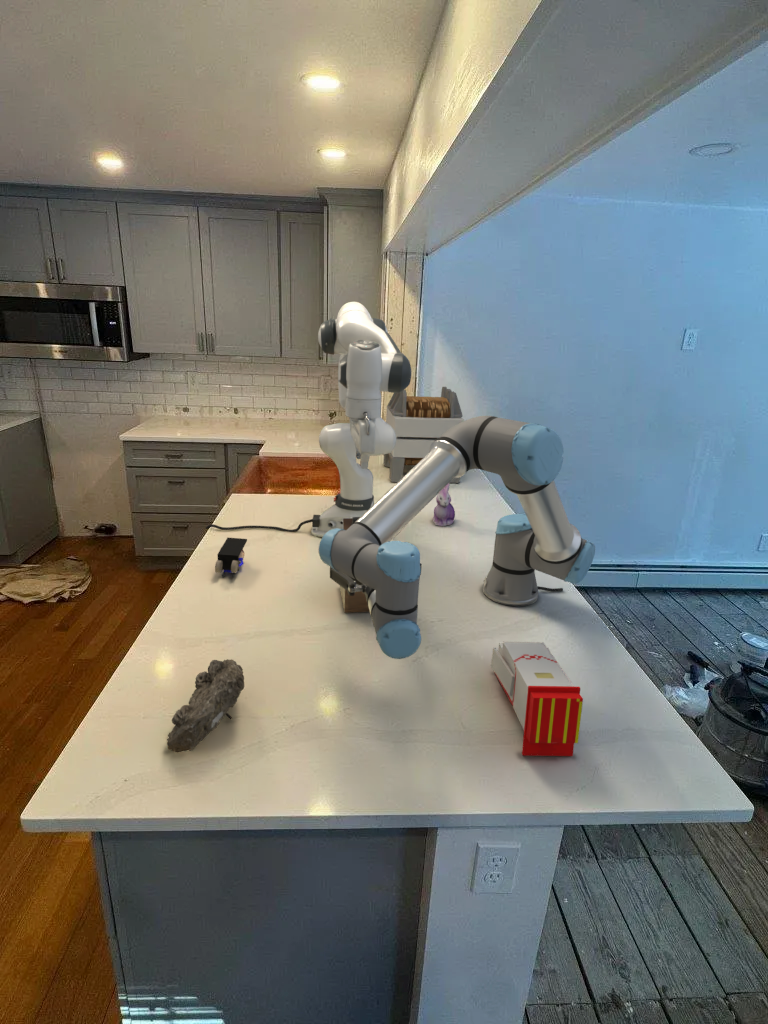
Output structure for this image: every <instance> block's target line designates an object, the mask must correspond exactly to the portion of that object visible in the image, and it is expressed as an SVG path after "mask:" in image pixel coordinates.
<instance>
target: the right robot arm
mask: <svg viewBox="0 0 768 1024" xmlns="http://www.w3.org/2000/svg"><path fill="white" fill-rule="evenodd" d="M563 454H564V444H563V441H562V438H561V436H560V434H558V432H557V431H556V430H554V429H553V428H551V427H548V426H544V425H542V424H540V423H536V422H535V423H534V422H528V421H527V422H526V421H521V420H515V419H509V418H504V417H498V416H495V415H479V416H475V417H471V418H468V419H466V420H465V421H463V422H461V423H459V424H457V425H456V426H454V427H452V428H450V429H449V430H448V431H446V432H445V433H443V434H442V435H441V436H440V437H439V438H437V439H436V440H435V441H434V442H433V443H432V444H431V446H430V452H429V453H428V454H427V455H426V456H425V457H424V458H423V459H422V460H421V461H420V462H419V463H418V464H416V465H415V466H413V467H412V468H411V469H410V470H408V472H407V473H406V474H405V475H403V476H402V479H400V480H399V481H398V482H395V484H394V485H392V487H391V488H389V489H388V490H387V491H386V492H385V493H384V494H383V495H382V496H381V497H379V499H378V500H377V501H376V502H374V505H373V506H372V507H371V508H369V509H368V510H367V511H366V512H365V513H364V514H363V515H362V516H361V517H360V518H359V519H358V520H357V521H356V522H355V523H354V524H352V525H351V526H350V527H349V528H348V529H347V530H344V529H339V528H335V529H332V530H329V531H328V532H327V533H326V534H325V535H324V536H323V537H321V539H320V542H319V544H318V555H319V558H320V560H321V561H322V562H323V564H325V565H327V566H328V567H329V579H330V580H332V581H333V582H335V584H337V585H338V586H339V587H340V586H341V587H343V588H344V589H345V590H347V592H348V594H349V595H350V596H354V595H355V592H360V591H362V592H363V593H364V594H365V596H366V600H367V604H368V607H369V611H370V612H369V614H370V618H371V620H372V625H373V628H374V632H375V640H376V641H377V643H378V646H379V649H380V650H381V652H382V653H383V654H384V655H385V656H386V657H388V658H390V659H394V660H395V659H396V660H402V659H406V658H409V657H411V656H413V655H414V654H415V653H416V652H417V651H418V650H419V648H420V646H421V643H422V636H421V628H420V626H419V625H418V609H419V605H418V603H419V591H420V578H421V575H422V569H423V568H422V566H423V564H422V563H421V553H420V550H419V548H418V547H417V546H416V545H415V544H413V543H410V542H408V541H401V540H393V539H394V538H395V537H396V536H397V535H398V534H399V533H400V532H401V531H402V530H404V529H405V527H406V526H408V524H409V523H411V521H412V520H413V519H414V518H415V517H416V516H418V515H419V514H420V512H422V510H424V509H425V508H426V506H427V505H429V503H430V502H432V501H433V500H434V498H435V497H437V495H438V493H439V492H440V491H441V490H442V489H443V488H444V487H445V486H446V485H447V484H448V483H449V482H450V481H451V480H452V479H453V478H459V477H460V478H461V477H463V476H464V475H465V474H467V472H468V471H471V470H481V471H484V472H488V473H491V474H496V475H498V476H499V477H500V479H501V480H502V482H503V485H504V486H505V488H506V489H507V490H508V491H509V492H511V493H512V494H515V495H516V496H517V499H518V500H519V503H520V505H521V507H522V509H523V511H524V513H514V514H513V513H512V514H507V515H504V516H502V517H500V518H499V519H498V521H497V524H496V530H495V532H494V533H495V537H494V538H495V539H494V546H493V547H494V548H493V556H492V564H491V567H490V569H489V572H488V574H487V575H486V576H485V577H484V579H483V585H482V592H483V594H484V595H485V597H487V598H488V599H489V600H491V601H493V602H495V603H496V604H497V603H498V604H501V605H505V606H510V607H526V606H529V605H532V604H534V603H536V602H537V600H538V596H539V591H546V592H553V593H554V592H563V591H564V588H563V587H559V588H556V587H555V588H550V587H545V586H539V585H538V583H537V578H536V572H535V571H538V572H540V573H543V574H545V575H548V576H550V577H554V578H556V579H559V580H560V581H563V582H565V583H566V582H567V583H570V584H573V585H577V584H579V583H580V582H582V581H584V579H585V577H586V576H587V575H588V572H589V571H590V568H591V566H592V564H593V561H594V559H595V554H596V544H595V543H594V542H593V541H590V539H584V538H582V535H581V532H580V531H579V529H578V528H577V527H576V526H575V525H574V524H572V523H570V520H569V517H568V515H567V513H566V510H565V507H564V504H563V501H562V499H561V496H560V493H559V490H558V488H557V487H558V486H557V485H556V482H555V480H556V479H557V477H558V475H560V474H559V473H560V472H561V469H562V466H563V461H564V457H563ZM449 484H450V483H449Z"/></svg>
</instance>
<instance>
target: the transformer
mask: <svg viewBox="0 0 768 1024" xmlns="http://www.w3.org/2000/svg"><path fill="white" fill-rule="evenodd" d="M440 393H441V394H440V396H415V395H414V396H413V395H412V396H411V395H407V394H408V393H407V390H406V389H404V390H403V391H402V392H400V393H393V394H392V395H391V398H390V400H389V402H388V404H387V405H386V413H385V414H386V415H385V422H386V423H387V424H389V425H390V426H391V427H392V428H393V429H394V431H395V433H396V445H395V447H394V449H393V451H392V452H391V453H388V454H384V455H383V466H384V467H388V468H389V475H388V476H389V477H388V478H389V480H390V482H391V483H397V482H398V481H399V480H400V479H402V478H403V476H404V469H405V466H406V467H407V466H411V467H412V466H413V467H414V466H415V465H416V464H418V463H419V462H420V461H421V460H422V459H423V458H424V457H425V456H426V455H427V454H428V453H429V452H430V446H431V444H432V443H433V442H434V441H435V440H436V439H437V438H439V437H440V436H441V435H442V434H443V433H445V432H446V431H448V430H449V429H450V428H452V427H454V426H456V425H457V424H459V423H461V422H463V421H466V420H465V419H464V418H463V411H462V408H461V405H460V402H459V398H458V395H457V392H455V391H453V390H452V389H451V388H447V386H442V387H441V392H440ZM455 483H456V484H459V483H461V477H459V478H453V479H452V480H451V481H450V482H449V484H455Z"/></svg>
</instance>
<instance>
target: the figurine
mask: <svg viewBox="0 0 768 1024" xmlns="http://www.w3.org/2000/svg"><path fill="white" fill-rule="evenodd" d="M435 501H436V503H437V504H436V506H435V507H434V508H433V518H432V523H434V525H435V526H440V527H445V526H450V525H452V524H453V523H454V521H455V517H456V511H455V508H454V506H453V504H452V503H451V502H452V498H451V494H450V483H448V484H447V485H446V486H445V487H444V488H443V489H442V490H441V491H440V492H439V493H438V494H437V495H436V498H435Z"/></svg>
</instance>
